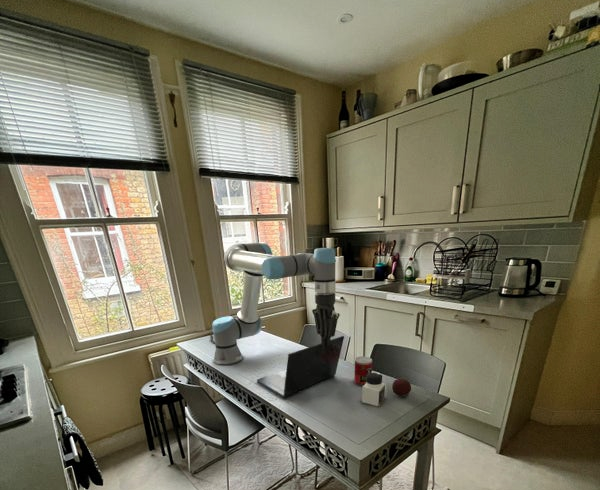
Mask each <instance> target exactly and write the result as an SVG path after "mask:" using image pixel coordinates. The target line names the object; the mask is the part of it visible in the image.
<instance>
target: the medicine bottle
mask: <svg viewBox="0 0 600 490" xmlns="http://www.w3.org/2000/svg"><path fill="white" fill-rule="evenodd" d="M361 389H362V390H361V402H362V403H363V404H368V405H371V406H375V407H379V406H380V405H381V404H382V402H383V401H384V399H385V393H386V383H384V382H383V375H382V373H380V372H378V371H372V372H370V373H368V374H367V379H366V384H365V385H362V388H361Z"/></svg>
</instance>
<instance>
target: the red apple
mask: <svg viewBox="0 0 600 490" xmlns="http://www.w3.org/2000/svg"><path fill="white" fill-rule="evenodd" d="M391 390H392V393H393V394H394V395H395V396H397V397H405V396H407V395H409V394H410V393H411V391H412V385H411V382H410V381H409V380H407V379H406V378H398V379H395V380H394V381H393V382H392V385H391Z"/></svg>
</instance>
